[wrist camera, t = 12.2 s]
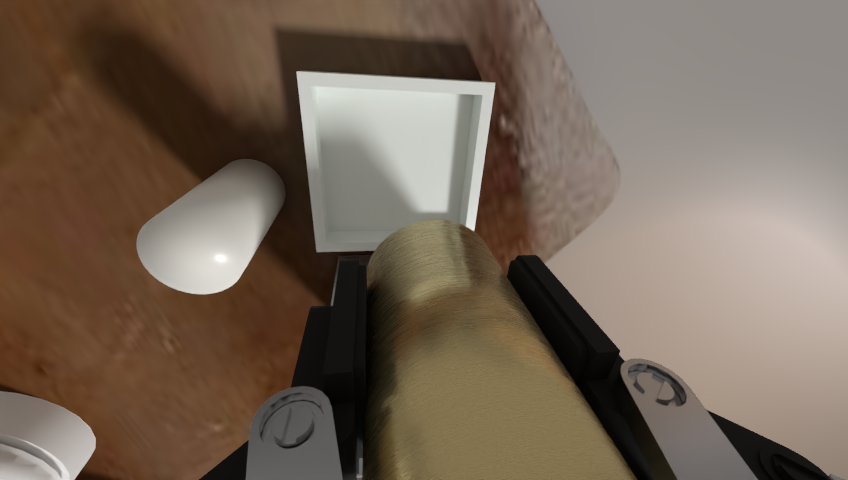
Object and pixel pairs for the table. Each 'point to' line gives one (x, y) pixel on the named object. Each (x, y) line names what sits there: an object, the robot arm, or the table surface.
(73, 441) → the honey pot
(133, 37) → the table surface
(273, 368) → the table surface
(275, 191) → the cylinder
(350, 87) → the tray
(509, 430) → the cylinder
